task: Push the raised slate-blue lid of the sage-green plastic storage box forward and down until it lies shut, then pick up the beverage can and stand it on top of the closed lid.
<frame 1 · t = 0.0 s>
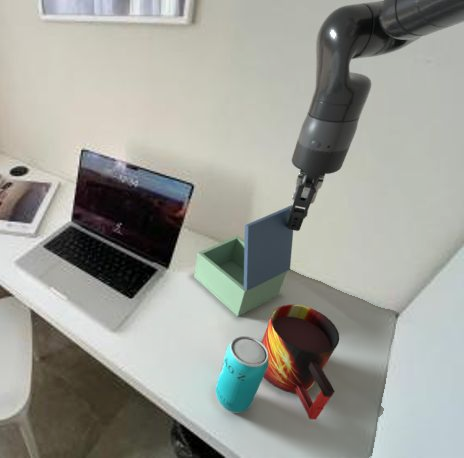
hand: (296, 217, 70), 19 cm above the table, tool pointing down, fingers open, 8 cm apart
box lid: (268, 248, 69), point 15 cm above the table, hinge at 77.1°, touching gripper
mug: (294, 377, 64), on the table
storage box: (234, 285, 82), on the table
beverage can: (231, 400, 63), on the table
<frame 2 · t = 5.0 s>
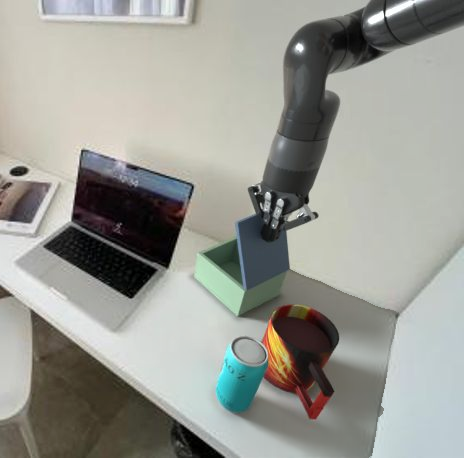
hand: (268, 239, 68), 17 cm above the table, tool pointing down, fingers closed
box lid: (263, 246, 70), point 15 cm above the table, hinge at 67.7°, touching gripper
everything else where it was.
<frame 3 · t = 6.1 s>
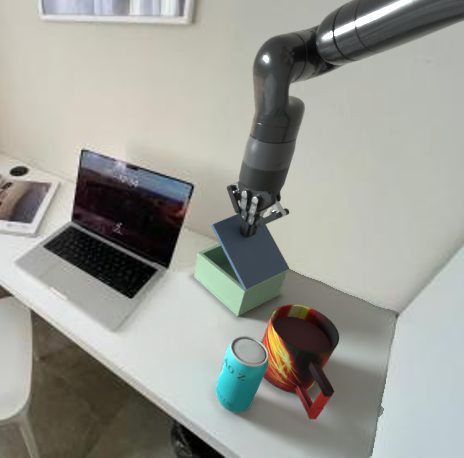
hand: (246, 234, 73), 15 cm above the table, tool pointing down, fingers closed
box lid: (250, 246, 74), point 13 cm above the table, hinge at 39.9°, touching gripper
everything else where it was.
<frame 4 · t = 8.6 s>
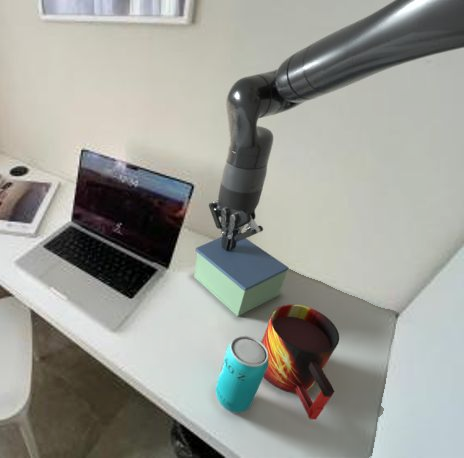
hand: (227, 247, 80), 9 cm above the table, tool pointing down, fingers closed
box lid: (239, 258, 78), point 8 cm above the table, hinge at 0.0°, touching gripper
everything else where it was.
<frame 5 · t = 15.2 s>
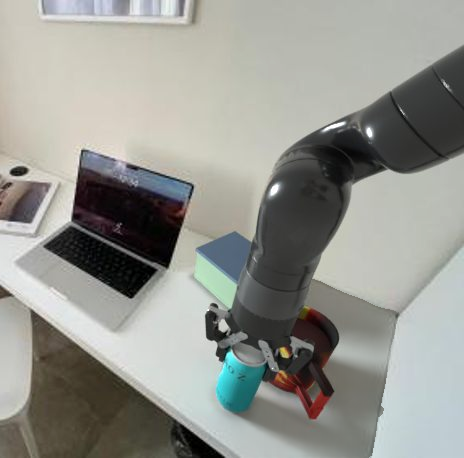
hand: (243, 366, 56), 11 cm above the table, tool pointing down, fingers closed on beverage can, 5 cm apart
box lid: (239, 258, 78), point 8 cm above the table, hinge at 0.0°
beverage can: (231, 400, 63), on the table, touching gripper
everything else where it was.
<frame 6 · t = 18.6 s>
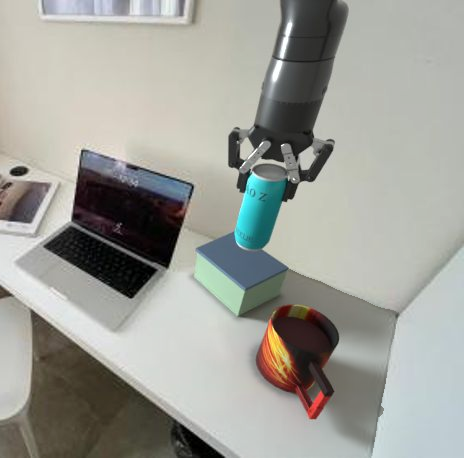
hand: (263, 194, 59), 30 cm above the table, tool pointing down, fingers closed on beverage can, 5 cm apart
beverage can: (249, 244, 65), point 19 cm above the table, touching gripper
everything else where it was.
when the fingers open (19 cm above the table, at t = 22.1 s): beverage can stays where it is, resting on box lid.
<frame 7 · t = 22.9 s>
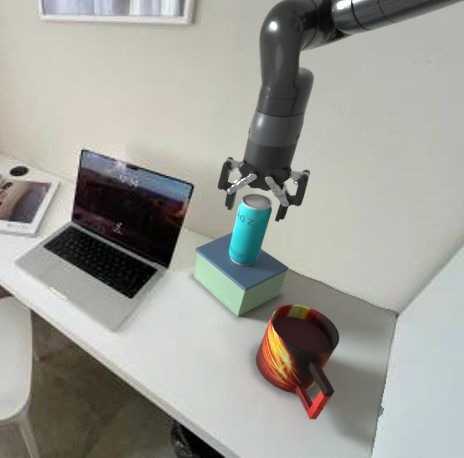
hand: (253, 213, 70), 21 cm above the table, tool pointing down, fingers open, 8 cm apart
box lid: (239, 258, 78), point 8 cm above the table, hinge at -0.2°, touching beverage can, storage box
beverage can: (241, 259, 77), point 8 cm above the table, touching box lid
everything else where it was.
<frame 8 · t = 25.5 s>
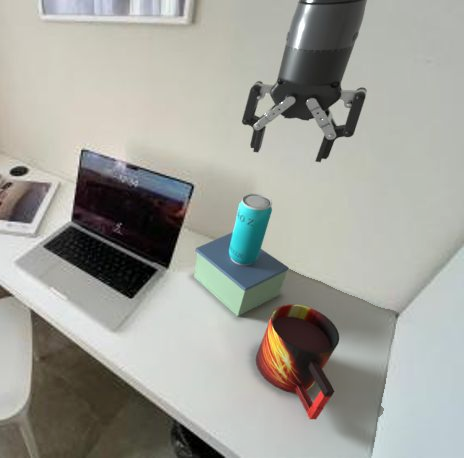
hand: (286, 154, 56), 36 cm above the table, tool pointing down, fingers open, 8 cm apart
nothing on the table moved.
at the end: box lid at +0° (first picture: +77°); beverage can inside the target area on the storage box (0.1 cm from its centre), point 8.4 cm above the storage box's base; beverage can tilted 0° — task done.
